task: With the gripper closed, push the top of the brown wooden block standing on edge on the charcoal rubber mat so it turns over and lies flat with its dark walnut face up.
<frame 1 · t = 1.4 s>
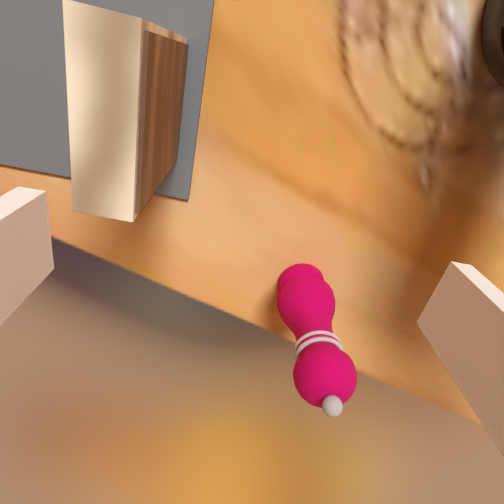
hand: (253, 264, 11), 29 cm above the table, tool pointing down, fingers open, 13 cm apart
pepper mill: (300, 281, 46), on the table
mat: (70, 75, 33), on the table
brown wooden block: (160, 101, 34), resting on mat
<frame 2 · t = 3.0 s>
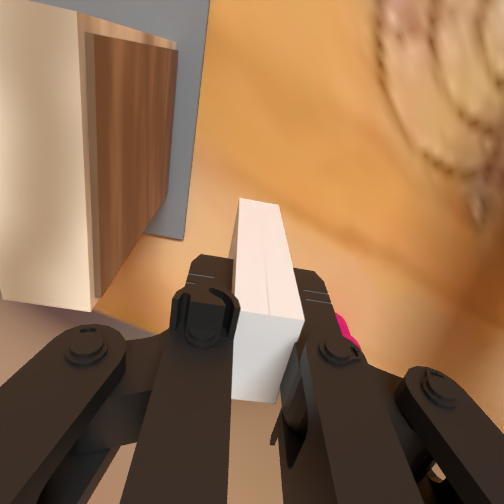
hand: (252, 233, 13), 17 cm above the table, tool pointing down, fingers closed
mat: (30, 91, 26), on the table
brown wooden block: (145, 122, 27), resting on mat
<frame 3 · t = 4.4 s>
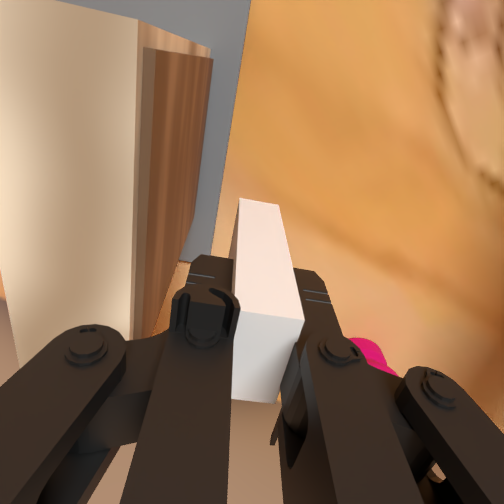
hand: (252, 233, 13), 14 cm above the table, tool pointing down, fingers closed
pepper mill: (351, 357, 36), on the table
mat: (43, 104, 23), on the table
brown wooden block: (171, 138, 24), resting on mat
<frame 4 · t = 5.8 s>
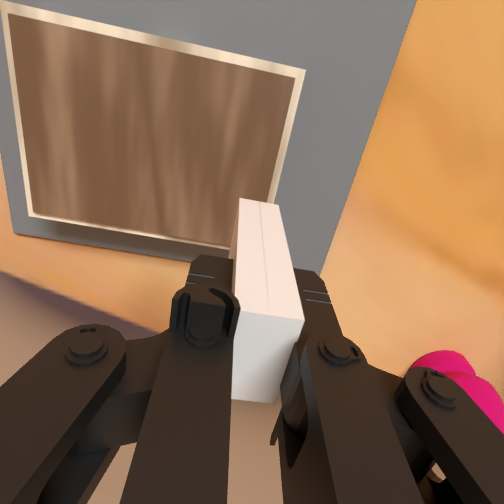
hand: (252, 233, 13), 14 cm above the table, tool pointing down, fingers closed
pepper mill: (436, 368, 37), on the table
mat: (185, 132, 24), on the table
brown wooden block: (278, 166, 23), point 2 cm above the table, tilted 90°, touching mat
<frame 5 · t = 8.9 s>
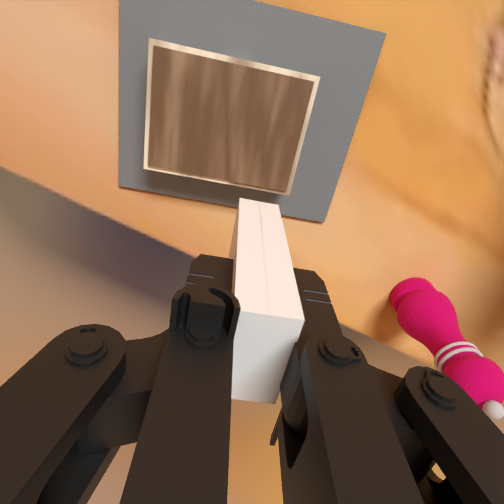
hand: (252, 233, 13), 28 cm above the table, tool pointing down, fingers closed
pepper mill: (410, 293, 50), on the table
mat: (239, 116, 37), on the table
brown wooden block: (300, 137, 36), point 2 cm above the table, tilted 90°, touching mat
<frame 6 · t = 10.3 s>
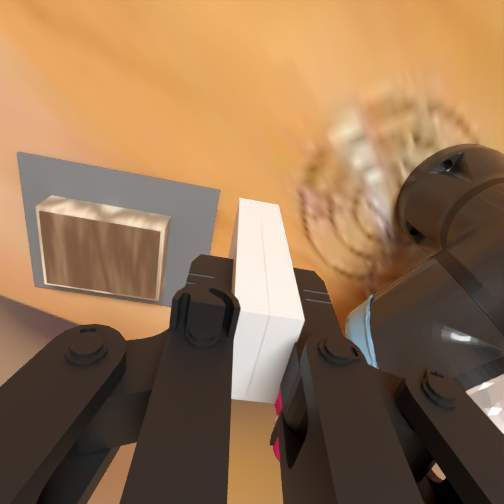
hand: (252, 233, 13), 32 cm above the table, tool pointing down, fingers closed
mat: (121, 240, 49), on the table
brown wooden block: (164, 259, 48), point 2 cm above the table, tilted 90°, touching mat
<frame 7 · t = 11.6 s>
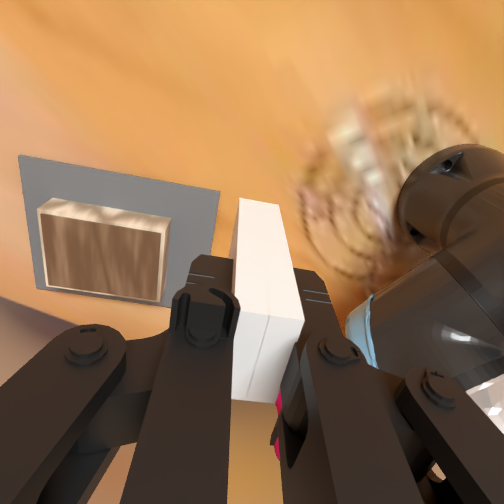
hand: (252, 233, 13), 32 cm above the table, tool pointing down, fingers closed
mat: (122, 242, 50), on the table
brown wooden block: (165, 261, 48), point 2 cm above the table, tilted 90°, touching mat
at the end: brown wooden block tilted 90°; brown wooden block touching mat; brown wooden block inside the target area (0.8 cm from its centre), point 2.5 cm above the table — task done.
